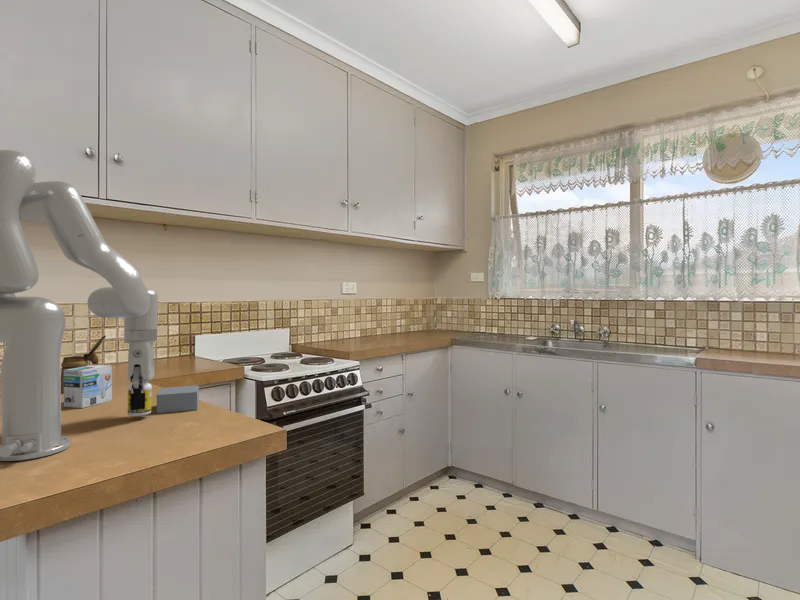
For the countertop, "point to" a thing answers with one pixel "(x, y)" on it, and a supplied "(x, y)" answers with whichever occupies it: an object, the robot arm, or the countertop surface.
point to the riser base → (177, 399)
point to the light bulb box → (87, 386)
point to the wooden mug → (79, 361)
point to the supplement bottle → (147, 400)
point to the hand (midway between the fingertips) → (139, 405)
